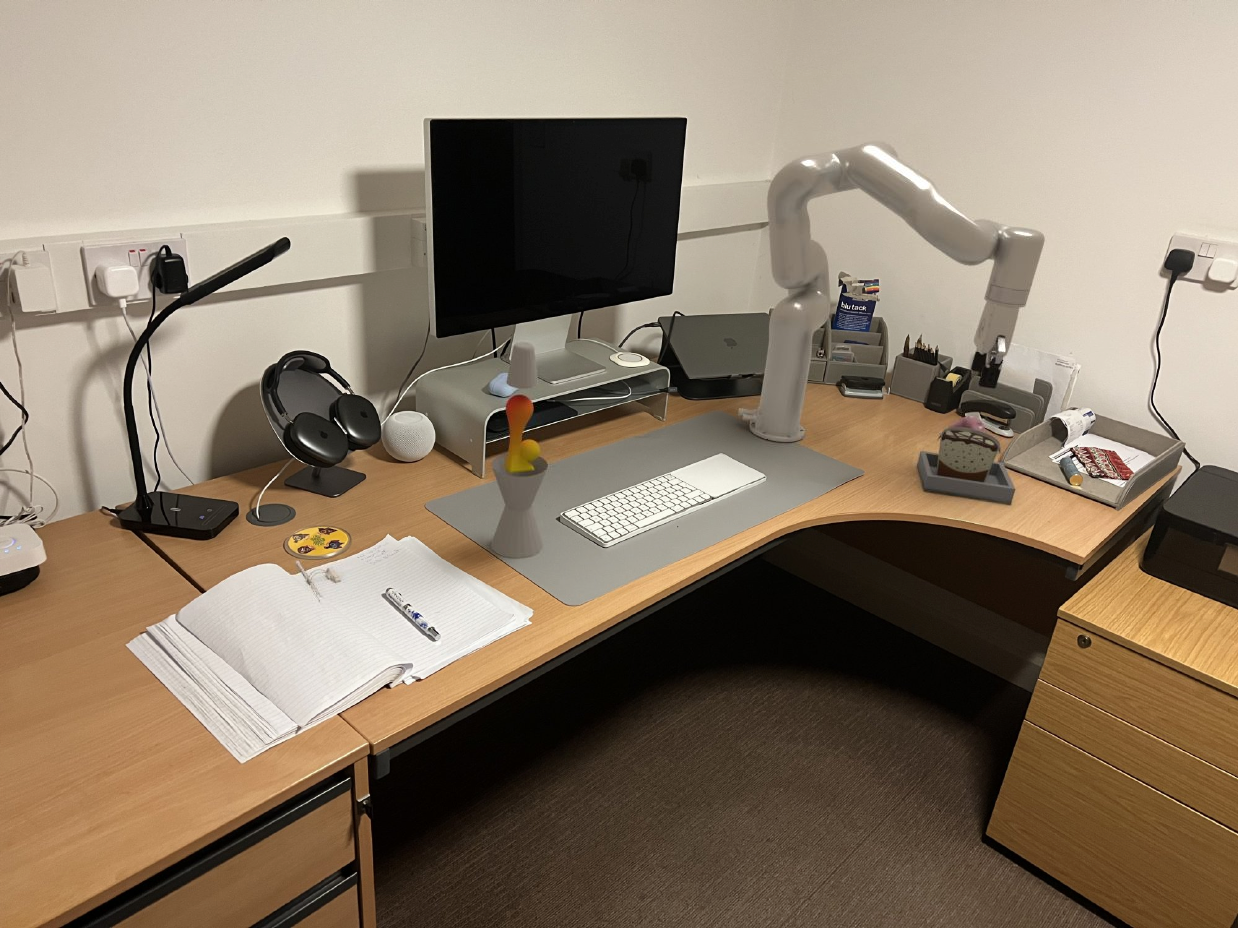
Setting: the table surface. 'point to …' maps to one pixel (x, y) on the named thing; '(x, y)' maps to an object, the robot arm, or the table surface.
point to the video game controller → (969, 424)
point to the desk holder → (966, 482)
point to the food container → (966, 454)
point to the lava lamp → (519, 465)
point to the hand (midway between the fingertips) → (982, 379)
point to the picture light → (331, 572)
